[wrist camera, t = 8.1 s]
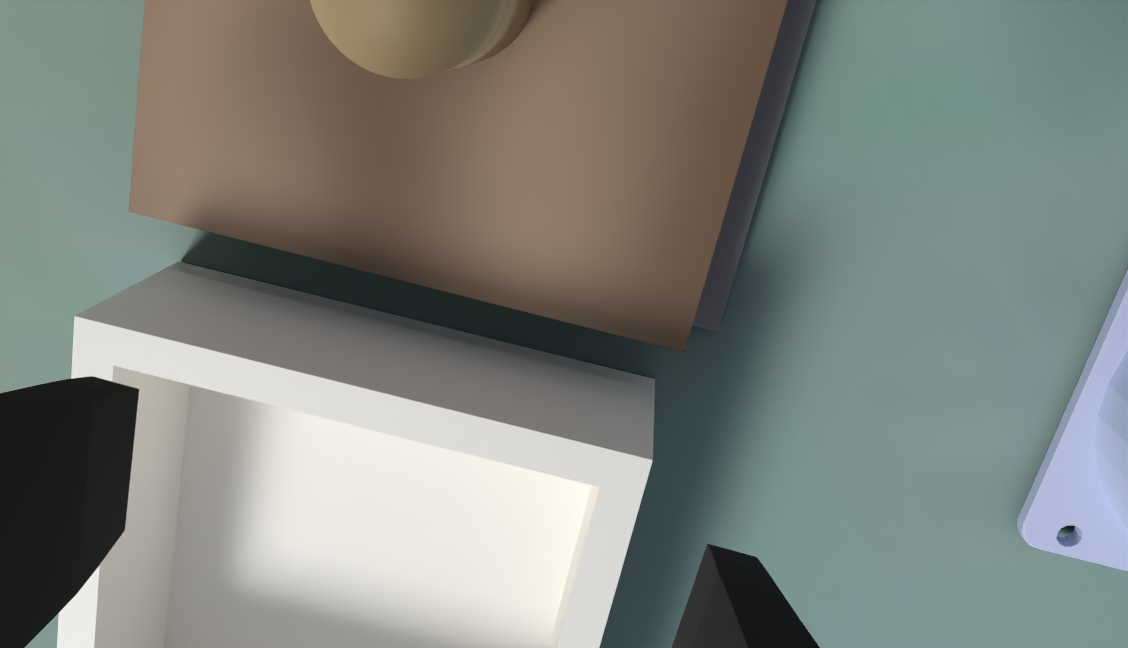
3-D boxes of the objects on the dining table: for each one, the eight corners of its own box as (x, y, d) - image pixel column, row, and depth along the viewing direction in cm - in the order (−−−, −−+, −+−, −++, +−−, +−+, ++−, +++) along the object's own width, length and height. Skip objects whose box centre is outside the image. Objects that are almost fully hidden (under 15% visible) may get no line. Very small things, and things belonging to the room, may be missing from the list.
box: (655, 378, 21) (652, 460, 17) (549, 759, 25) (528, 894, 21) (178, 261, 21) (74, 316, 18) (143, 655, 25) (50, 770, 21)
